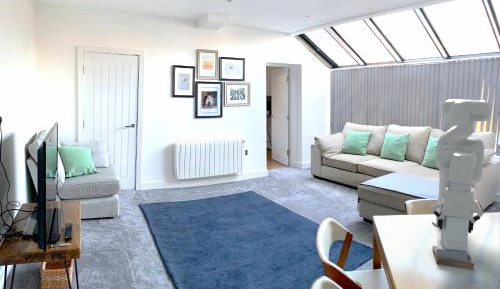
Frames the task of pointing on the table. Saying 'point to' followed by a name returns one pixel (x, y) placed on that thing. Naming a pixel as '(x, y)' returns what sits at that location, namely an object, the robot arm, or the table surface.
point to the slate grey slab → (451, 253)
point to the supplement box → (455, 233)
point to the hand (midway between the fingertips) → (454, 230)
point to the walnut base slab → (453, 261)
